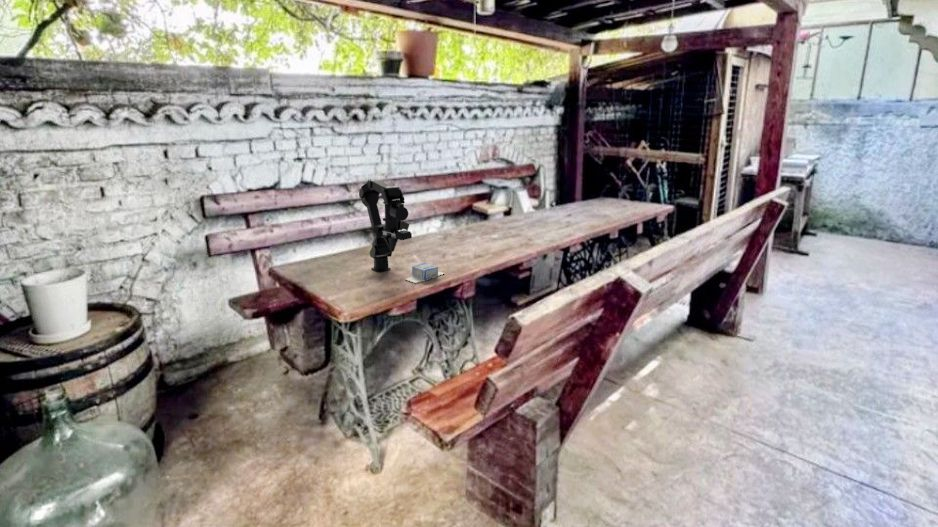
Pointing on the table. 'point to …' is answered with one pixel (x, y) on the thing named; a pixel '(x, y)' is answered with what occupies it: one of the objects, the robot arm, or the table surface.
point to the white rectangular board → (416, 279)
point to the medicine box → (424, 271)
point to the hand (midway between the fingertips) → (392, 251)
